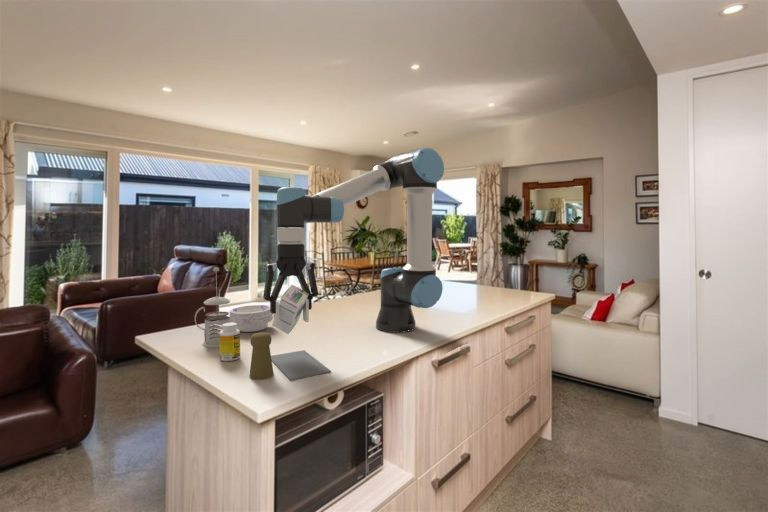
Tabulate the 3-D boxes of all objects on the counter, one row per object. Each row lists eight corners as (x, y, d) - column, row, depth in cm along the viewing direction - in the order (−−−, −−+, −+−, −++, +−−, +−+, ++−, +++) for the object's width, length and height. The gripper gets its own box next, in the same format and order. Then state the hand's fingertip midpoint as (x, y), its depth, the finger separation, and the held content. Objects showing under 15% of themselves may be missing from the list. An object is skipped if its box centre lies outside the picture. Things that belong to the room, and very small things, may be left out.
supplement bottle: (236, 362, 110) (235, 326, 109) (216, 361, 110) (215, 326, 109) (243, 355, 116) (242, 321, 115) (224, 355, 116) (223, 321, 115)
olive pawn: (244, 378, 98) (243, 336, 97) (256, 370, 104) (255, 329, 103) (267, 380, 97) (266, 337, 96) (277, 371, 103) (276, 330, 102)
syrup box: (288, 335, 115) (300, 307, 105) (271, 325, 115) (281, 296, 105) (297, 321, 119) (309, 293, 110) (281, 312, 119) (291, 283, 110)
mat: (268, 357, 114) (268, 356, 114) (304, 351, 120) (304, 350, 120) (290, 380, 97) (290, 379, 97) (330, 372, 103) (330, 370, 103)
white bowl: (223, 328, 146) (223, 307, 146) (262, 322, 156) (261, 302, 156) (239, 337, 135) (239, 314, 134) (280, 329, 145) (279, 308, 144)
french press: (236, 344, 126) (234, 268, 125) (196, 350, 121) (194, 269, 119) (231, 337, 135) (229, 265, 133) (194, 341, 129) (192, 266, 127)
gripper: (320, 242, 118) (320, 316, 120) (249, 243, 107) (251, 324, 109) (330, 243, 112) (330, 321, 114) (256, 244, 101) (257, 330, 103)
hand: (291, 322), depth 111 cm, fingers closed on syrup box, 8 cm apart
